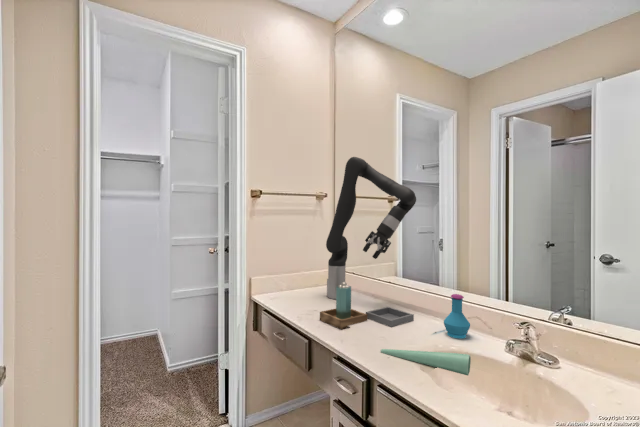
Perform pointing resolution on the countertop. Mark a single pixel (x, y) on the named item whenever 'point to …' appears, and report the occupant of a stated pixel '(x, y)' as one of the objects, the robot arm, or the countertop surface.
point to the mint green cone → (435, 359)
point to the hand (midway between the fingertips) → (369, 254)
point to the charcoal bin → (390, 316)
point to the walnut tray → (331, 319)
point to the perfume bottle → (456, 319)
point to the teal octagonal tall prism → (343, 301)
